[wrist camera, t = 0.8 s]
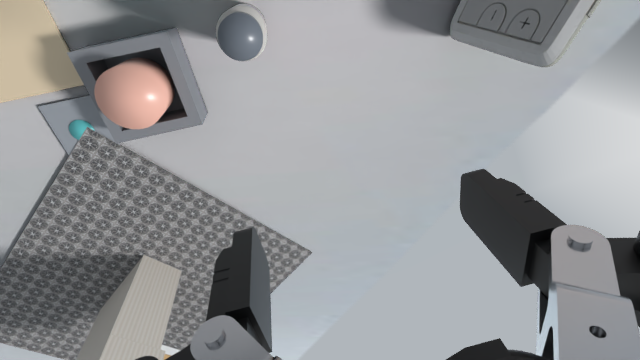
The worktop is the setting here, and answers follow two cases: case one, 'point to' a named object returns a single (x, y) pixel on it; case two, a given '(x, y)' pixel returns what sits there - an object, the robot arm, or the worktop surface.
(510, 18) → the digital clock
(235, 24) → the marker grey
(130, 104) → the button
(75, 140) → the card
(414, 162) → the worktop surface
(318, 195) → the worktop surface
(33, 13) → the sketch pad
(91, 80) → the button housing
